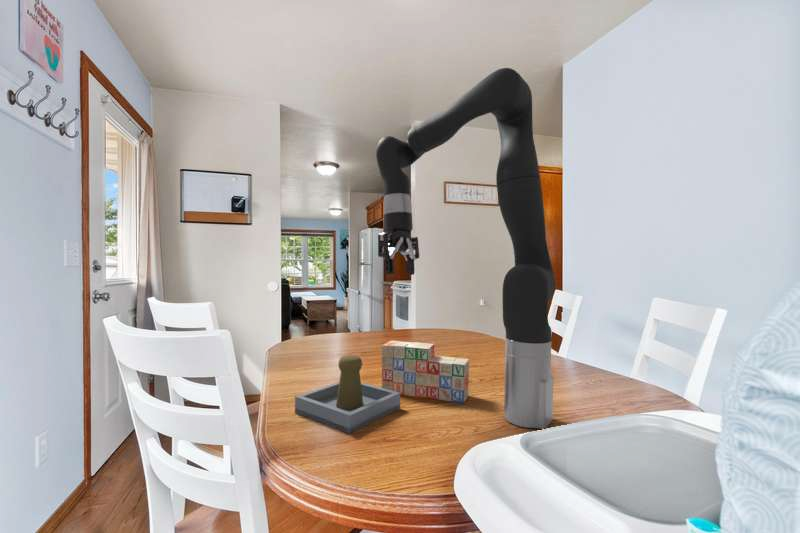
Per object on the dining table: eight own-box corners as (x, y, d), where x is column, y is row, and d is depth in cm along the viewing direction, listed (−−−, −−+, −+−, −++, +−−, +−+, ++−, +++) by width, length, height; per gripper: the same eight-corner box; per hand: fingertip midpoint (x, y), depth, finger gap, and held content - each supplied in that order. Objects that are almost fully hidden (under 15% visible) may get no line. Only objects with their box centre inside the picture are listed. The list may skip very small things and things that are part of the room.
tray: (400, 408, 87) (400, 392, 87) (349, 433, 74) (349, 415, 74) (347, 392, 97) (347, 378, 97) (294, 412, 83) (295, 396, 83)
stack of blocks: (468, 395, 96) (469, 346, 96) (464, 404, 90) (465, 352, 90) (390, 384, 104) (390, 339, 104) (381, 392, 98) (381, 344, 98)
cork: (358, 411, 82) (359, 360, 82) (331, 409, 83) (332, 358, 83) (366, 401, 88) (367, 353, 88) (341, 399, 89) (342, 352, 89)
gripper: (391, 207, 93) (394, 273, 92) (424, 214, 104) (428, 274, 103) (368, 212, 98) (371, 275, 97) (403, 219, 109) (406, 275, 108)
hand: (400, 274), depth 100 cm, fingers open, 8 cm apart
